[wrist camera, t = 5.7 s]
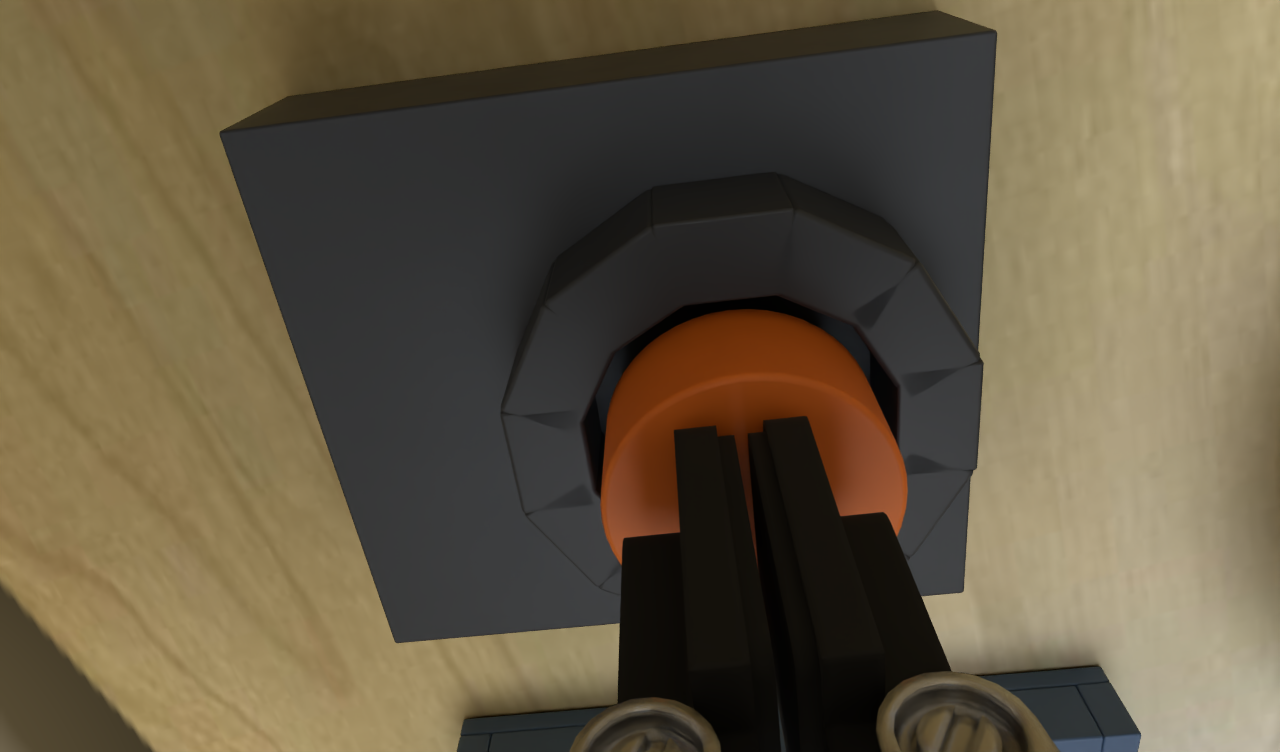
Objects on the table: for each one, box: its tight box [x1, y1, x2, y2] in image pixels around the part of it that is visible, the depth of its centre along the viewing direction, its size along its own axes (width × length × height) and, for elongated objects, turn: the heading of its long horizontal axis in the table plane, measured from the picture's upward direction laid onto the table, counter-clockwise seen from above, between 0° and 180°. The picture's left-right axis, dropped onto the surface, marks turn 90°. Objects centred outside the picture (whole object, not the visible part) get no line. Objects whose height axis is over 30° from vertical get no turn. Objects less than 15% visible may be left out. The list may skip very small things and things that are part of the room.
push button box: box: [220, 11, 997, 643], centre depth 15 cm, size 11×10×4 cm
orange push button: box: [600, 309, 908, 566], centre depth 12 cm, size 4×4×2 cm
